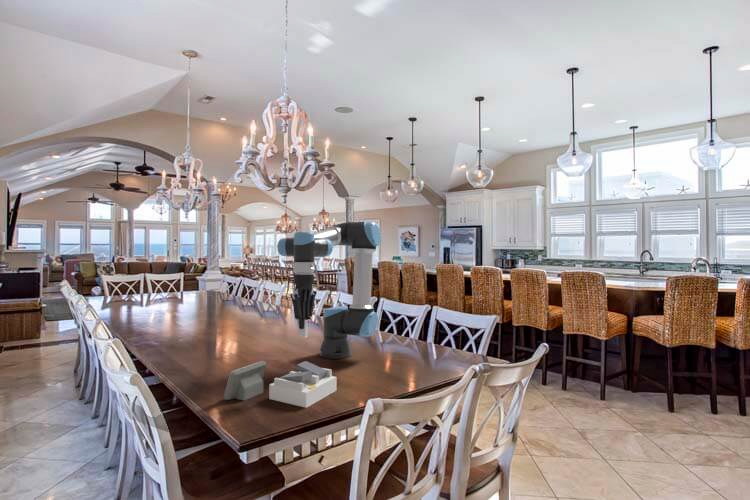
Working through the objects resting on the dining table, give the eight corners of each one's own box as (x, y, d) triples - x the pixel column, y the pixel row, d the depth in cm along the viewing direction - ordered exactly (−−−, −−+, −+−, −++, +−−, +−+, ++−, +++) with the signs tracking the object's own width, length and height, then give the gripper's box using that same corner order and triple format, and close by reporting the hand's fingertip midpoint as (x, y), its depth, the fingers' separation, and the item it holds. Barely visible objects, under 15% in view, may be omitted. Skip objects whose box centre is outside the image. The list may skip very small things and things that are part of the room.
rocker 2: (295, 370, 149) (296, 364, 148) (304, 366, 153) (306, 360, 153) (317, 380, 144) (318, 374, 144) (326, 376, 149) (327, 370, 149)
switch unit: (269, 398, 141) (269, 377, 140) (301, 383, 156) (301, 364, 156) (306, 407, 133) (306, 385, 133) (336, 390, 149) (336, 370, 149)
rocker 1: (280, 384, 140) (279, 377, 141) (290, 379, 145) (289, 373, 145) (302, 382, 136) (301, 375, 136) (312, 377, 141) (311, 371, 141)
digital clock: (259, 386, 153) (259, 358, 153) (273, 391, 147) (273, 362, 147) (218, 398, 141) (218, 367, 141) (232, 405, 135) (231, 373, 135)
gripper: (300, 274, 142) (300, 342, 142) (322, 273, 154) (322, 335, 154) (284, 274, 146) (284, 339, 146) (306, 272, 157) (306, 332, 157)
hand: (303, 337), depth 150 cm, fingers closed
